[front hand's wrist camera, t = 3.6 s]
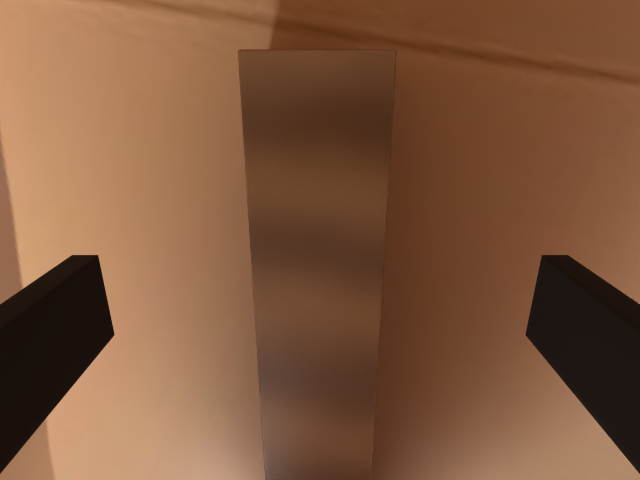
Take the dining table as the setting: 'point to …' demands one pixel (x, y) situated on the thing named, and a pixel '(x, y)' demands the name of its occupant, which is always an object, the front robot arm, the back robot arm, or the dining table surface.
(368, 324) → the beam
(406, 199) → the dining table surface
